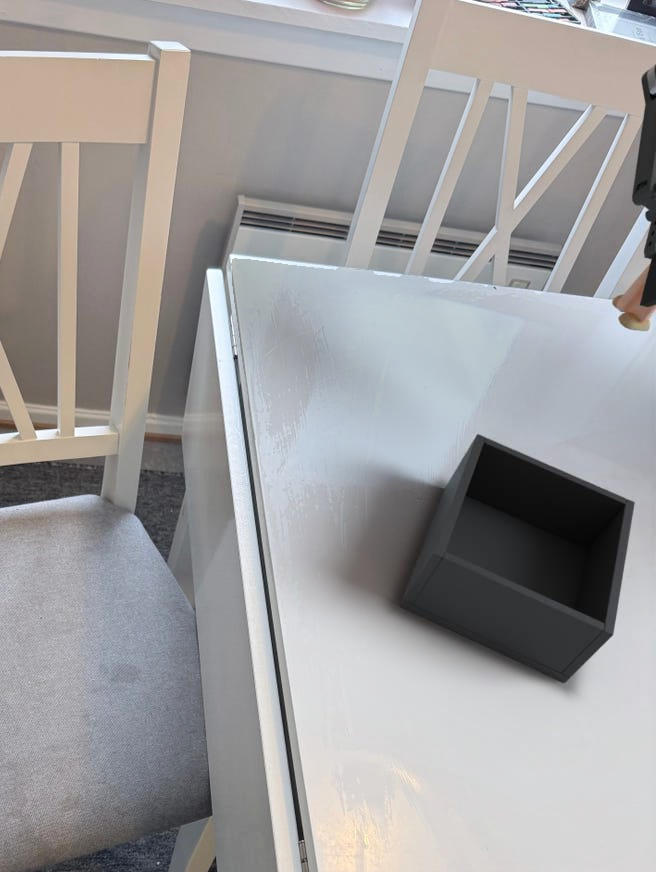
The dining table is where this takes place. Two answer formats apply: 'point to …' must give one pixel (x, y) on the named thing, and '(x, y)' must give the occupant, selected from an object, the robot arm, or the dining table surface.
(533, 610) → the bin
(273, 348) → the dining table surface
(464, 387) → the dining table surface
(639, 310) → the grandmother figurine
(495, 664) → the dining table surface
